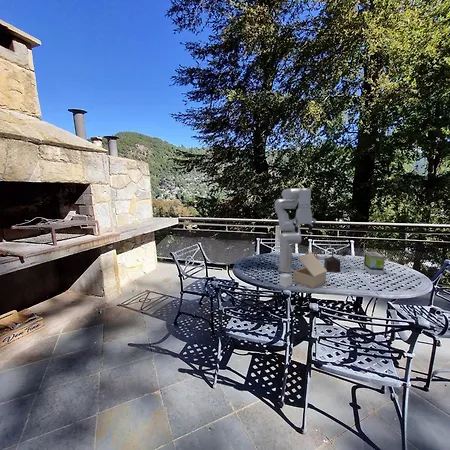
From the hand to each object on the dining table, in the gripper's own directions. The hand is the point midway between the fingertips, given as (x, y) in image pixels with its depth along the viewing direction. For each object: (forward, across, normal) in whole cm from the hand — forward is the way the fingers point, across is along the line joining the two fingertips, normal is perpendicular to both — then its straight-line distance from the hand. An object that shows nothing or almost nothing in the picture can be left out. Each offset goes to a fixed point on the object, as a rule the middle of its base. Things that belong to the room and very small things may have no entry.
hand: (303, 232), depth 169 cm
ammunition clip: (+37, -29, -44) cm, 65 cm away
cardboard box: (+37, -8, -4) cm, 38 cm away
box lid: (+24, -8, -2) cm, 25 cm away
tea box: (+37, -70, -19) cm, 81 cm away
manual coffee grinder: (+37, -41, -26) cm, 61 cm away
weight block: (+37, +11, -1) cm, 39 cm away
